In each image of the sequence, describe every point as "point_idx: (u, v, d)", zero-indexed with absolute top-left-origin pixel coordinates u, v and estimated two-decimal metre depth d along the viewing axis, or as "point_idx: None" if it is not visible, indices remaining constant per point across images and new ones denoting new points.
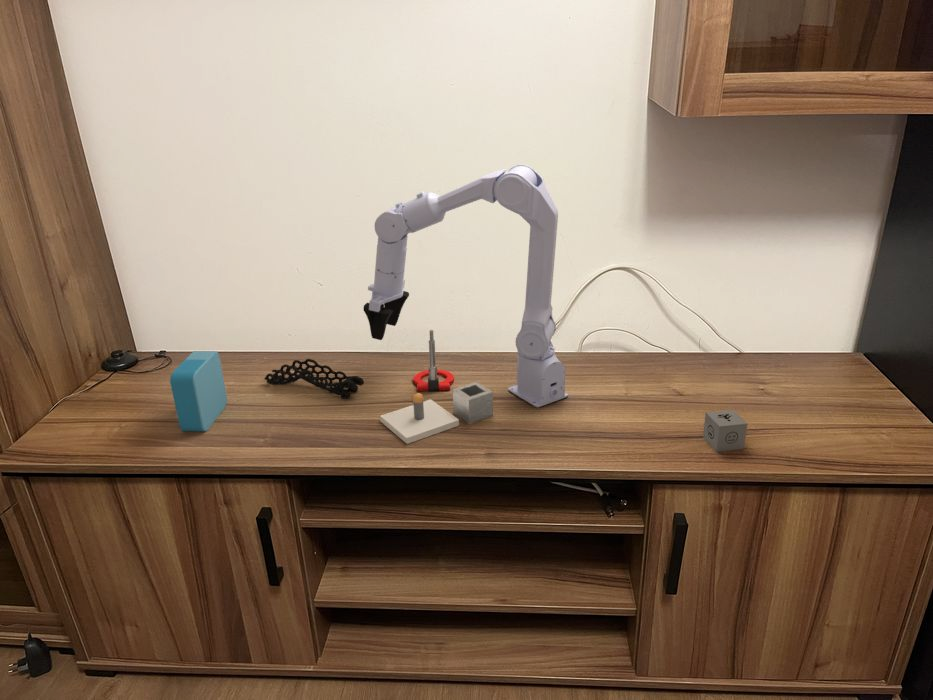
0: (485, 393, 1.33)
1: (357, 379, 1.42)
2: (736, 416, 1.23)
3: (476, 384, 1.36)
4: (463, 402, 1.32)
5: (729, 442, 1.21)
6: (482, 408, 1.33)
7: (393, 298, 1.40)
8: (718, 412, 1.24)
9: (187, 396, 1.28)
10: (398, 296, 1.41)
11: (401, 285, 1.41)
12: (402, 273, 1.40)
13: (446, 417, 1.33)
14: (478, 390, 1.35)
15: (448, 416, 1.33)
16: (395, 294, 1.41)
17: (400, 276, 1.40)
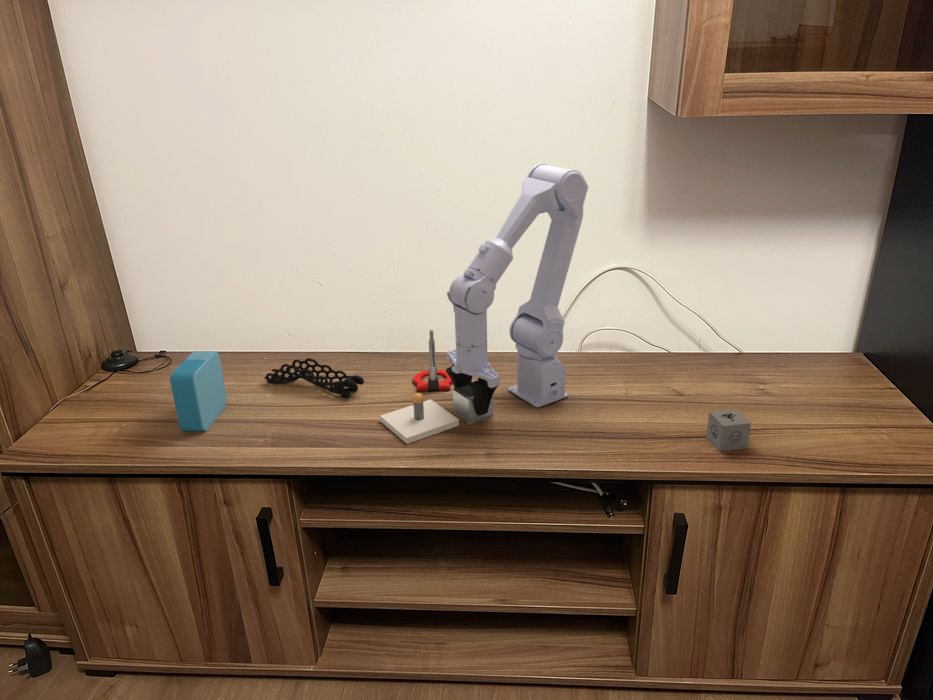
0: None
1: (357, 378, 1.43)
2: (739, 416, 1.23)
3: None
4: (463, 402, 1.32)
5: (732, 442, 1.21)
6: None
7: None
8: (721, 412, 1.24)
9: (187, 396, 1.28)
10: None
11: None
12: None
13: (446, 417, 1.33)
14: None
15: (448, 416, 1.33)
16: (487, 362, 1.31)
17: None
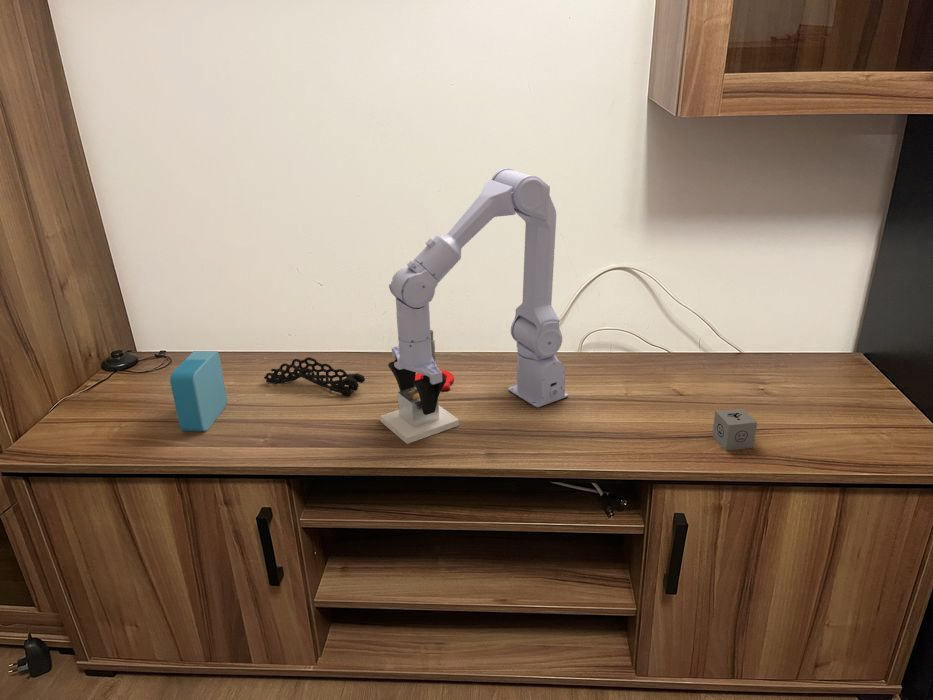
0: None
1: (358, 376, 1.44)
2: (745, 415, 1.23)
3: None
4: (407, 405, 1.29)
5: (739, 441, 1.22)
6: None
7: (434, 362, 1.27)
8: (728, 411, 1.24)
9: (187, 396, 1.28)
10: None
11: None
12: None
13: (446, 417, 1.33)
14: None
15: (448, 416, 1.33)
16: (431, 358, 1.27)
17: None
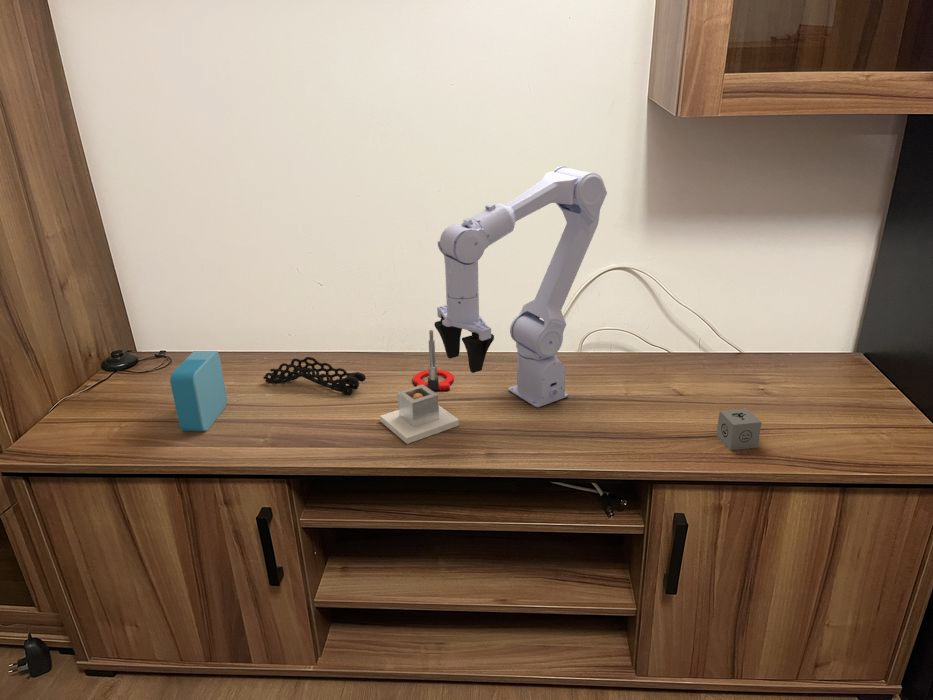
0: (430, 396, 1.29)
1: (359, 375, 1.44)
2: (750, 415, 1.23)
3: (422, 387, 1.33)
4: (407, 405, 1.29)
5: (743, 441, 1.22)
6: (427, 412, 1.30)
7: None
8: (732, 411, 1.24)
9: (187, 396, 1.28)
10: None
11: None
12: None
13: (446, 417, 1.33)
14: (424, 393, 1.32)
15: (448, 416, 1.33)
16: (479, 316, 1.28)
17: None
